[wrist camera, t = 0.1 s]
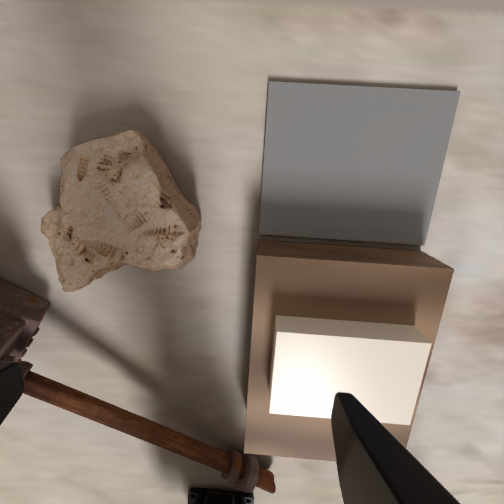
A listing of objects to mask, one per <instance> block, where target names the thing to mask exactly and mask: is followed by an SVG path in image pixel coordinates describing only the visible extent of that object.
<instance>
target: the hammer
mask: <svg viewBox="0 0 504 504" xmlns="http://www.w3.org/2000/svg"><path fill="white" fill-rule="evenodd" d="M50 304H51V303H50V302H49V301H47V300H45V299H43V298H41V297H38V296H36V295H34V294H32V293H29V292H27V291H25V290H23V289H20V288H18V287H16V286H14V285H11V284H9V283H7V282H5V281H2V280H0V362H2V361H13V362H18V363H20V365H21V367H22V373H23V378H24V384H25V387H24V391H23V393H24V394H27V395H29V396H32V397H34V398H37V399H40V400H42V401H45V402H47V403H50V404H52V405H55V406H58V407H60V408H63V409H65V410H68V411H70V412H73V413H75V414H78V415H80V416H83V417H86V418H88V419H91V420H93V421H96V422H98V423H101V424H103V425H106V426H108V427H111V428H113V429H116V430H119V431H121V432H124V433H126V434H129V435H131V436H134V437H136V438H139V439H141V440H144V441H147V442H149V443H152V444H154V445H157V446H159V447H162V448H164V449H167V450H169V451H172V452H174V453H177V454H179V455H182V456H184V457H187V458H189V459H192V460H194V461H197V462H199V463H202V464H204V465H207V466H209V467H211V468H214V469H216V470H219V471H221V476H222V478H223V479H225V480H226V481H228V482H229V483H231V484H233V485H234V487H235V488H236V490H239V491H243V492H245V493H250V492H252V491H253V489H254V488H255V486H256V487H259V488H261V489H263V490H265V491H267V492H270V493H275V489H276V488H275V483H274V475H273V473H272V472H271V471H268V470H266V469H264V468H261V467H259V463H258V459H257V457H255V456H254V455H253V454H247V453H243V454H242V455H241V454H240V452H238V451H236V450H233V449H229V450H228V451H227V452H224V451H222V450H220V449H217V448H215V447H212V446H210V445H208V444H206V443H203V442H201V441H199V440H196V439H194V438H191V437H189V436H187V435H184V434H182V433H180V432H177V431H175V430H172V429H170V428H168V427H165V426H163V425H160V424H158V423H156V422H153V421H151V420H148V419H146V418H144V417H141V416H139V415H136V414H134V413H132V412H129V411H127V410H124V409H122V408H119V407H117V406H115V405H112V404H110V403H107V402H105V401H102V400H100V399H98V398H95V397H93V396H90V395H88V394H85V393H83V392H81V391H78V390H76V389H73V388H71V387H68V386H66V385H63V384H61V383H58V382H56V381H54V380H51V379H49V378H46V377H44V376H41V375H39V374H36V373H34V372H32V371H30V370H31V368H32V366H33V365H32V364H31V363H29V362H26V361H21V359H20V358H21V357H23V356H24V355H25V353H26V352H27V349H26V347H28V346H29V345H30V344H31V343H32V341H33V339H32V337H33V336H34V335H36V334H37V332H38V331H39V327H38V326H39V324H40V323H41V321H42V319H43V317H44V314H45V312H46V311H47V309H48V307H49V306H50Z"/></svg>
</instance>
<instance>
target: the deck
mask: <svg viewBox="0 0 504 504" xmlns="http://www.w3.org/2000/svg"><path fill="white" fill-rule="evenodd" d="M453 272H454V269H453V268H451V267H450V266H448V265H446V264H444V263H442V262H440V261H439V260H437V259H435V258H433V257H431V256H429V255H428V254H426V253H424V252H422V251H417V250H402V249H387V248H372V247H358V246H343V245H328V244H313V243H299V242H284V241H269V240H258V248H257V259H256V274H255V290H254V305H253V320H252V335H251V350H250V365H249V380H248V396H247V411H246V426H245V441H244V453H247V454H259V455H270V456H281V457H293V458H304V459H316V460H327V461H336V455H335V448H334V441H333V434H332V427H331V419H330V418H318V417H306V416H294V415H282V414H271V413H269V384H270V373H271V362H272V351H273V340H274V329H275V318H276V315H279V316H293V317H306V318H319V319H333V320H346V321H360V322H373V323H386V324H400V325H413V326H416V327H417V328H418V329H419V331H420V332H421V333H422V334H423V335H424V336H425V337H426V338H427V339H428V340H429V341H430V342H431V343H432V344H431V348H430V352H429V355H428V359H427V363H426V367H425V371H424V374H423V378H422V382H421V386H420V389H419V393H418V397H417V401H416V404H415V408H414V412H413V416H412V419H411V423H410V425H402V424H390V423H381V424H382V425H383V426H384V427H385V428H386V429H387V430H388V431H389V432H390V433H391V434H392V435H393V436H394V437H395V438H396V439H397V440H398V441H399V442H400V443H401V444H402V445H403V446H404V447H405V448H406V446H407V443H408V439H409V435H410V431H411V428H412V424H413V420H414V417H415V413H416V409H417V405H418V402H419V398H420V394H421V391H422V387H423V383H424V379H425V376H426V372H427V368H428V365H429V361H430V357H431V353H432V350H433V346H434V342H435V339H436V335H437V331H438V327H439V324H440V320H441V316H442V312H443V309H444V305H445V301H446V298H447V294H448V290H449V286H450V283H451V279H452V275H453Z"/></svg>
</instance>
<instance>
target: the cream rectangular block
mask: <svg viewBox="0 0 504 504" xmlns="http://www.w3.org/2000/svg"><path fill="white" fill-rule="evenodd" d="M431 344H432V343H431V342H430V341H429V340H428V339H427V338H426V337H425V336H424V335H423V334H422V333H421V332H420V331H419V329H418V328H417V327H416V326H413V325H400V324H386V323H373V322H360V321H346V320H333V319H319V318H306V317H293V316H279V315H276V318H275V329H274V340H273V351H272V362H271V373H270V384H269V413H271V414H282V415H294V416H306V417H318V418H330V419H331V414H332V408H333V403H334V397H335V394H336V393H337V392H345V393H351V394H352V395H354V396H355V397H356V398H357V399H358V400H359V402H360V403H361V404H362V405H363V406H364V407H365V408H366V409H367V410H368V411H369V412H370V413H371V414H372V415H373V416H374V417H375V418H376V419H377V420H378V421H379V422H380V423H390V424H402V425H410V423H411V419H412V416H413V412H414V408H415V404H416V401H417V397H418V393H419V389H420V386H421V382H422V378H423V374H424V371H425V367H426V363H427V359H428V355H429V352H430V348H431Z"/></svg>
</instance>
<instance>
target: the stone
mask: <svg viewBox="0 0 504 504" xmlns="http://www.w3.org/2000/svg"><path fill="white" fill-rule="evenodd" d="M60 167H61V170H62V172H63V174H62V176H61V178H60V192H61V194H60V206H56V207H55V209H53V210H51V211H50V212H48V213H47V214H46V215H45V216H44V217H42V220H41V232H42V233H43V234H44V235H46V236H47V238H48V239H49V244H50V247H51V250H52V253H53V255H54V257H55V260H56V266H57V272H58V274H59V280H60V282H61V283H62V287H63V290H64V291H66V292H73V291H76V290H80V289H81V288H83V287H85V286H87V285H89V284H90V283H91V282H92V281H93V280H94V279H98V278H101V277H102V276H103V275H104V274H106V273H107V272H109V271H112V270H115V269H119V268H120V267H121V266H123V265H125V264H129V265H132V266H135V267H137V268H139V269H147V270H154V271H160V270H163V269H169V268H170V269H180V268H182V267H183V266H185V264H187V263H189V262H190V261H191V260H193V258H194V257H195V253H196V248H197V245H198V236H199V232H200V229H201V218H200V216H199V213H198V210H197V208H196V207H195V206H194V205H193V204H192V203H190V202H188V201H187V199H186V198H185V197H184V196H183V195H182V194H181V193H180V191H179V189H178V187H177V185H176V183H175V180H174V179H173V178H172V175H171V172H170V170H169V168H168V166H167V165H166V164H165V163H164V161H163V160H162V158H161V156H160V154H159V152H158V151H157V150H156V148H155V147H154V146H153V145H152V144H151V143H150V142H149V141H148V139H147V138H146V137H145V136H144V135H143V133H142V132H141V131H139V130H126V131H123V132H120V133H117V134H115V135H111V136H108V137H104V138H99V139H94V140H90V141H87V142H85V143H82V144H79V145H75V146H71V148H70V149H69V151H68V152H66V153H65V154H64V155H63V156H62V158H61V161H60Z"/></svg>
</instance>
